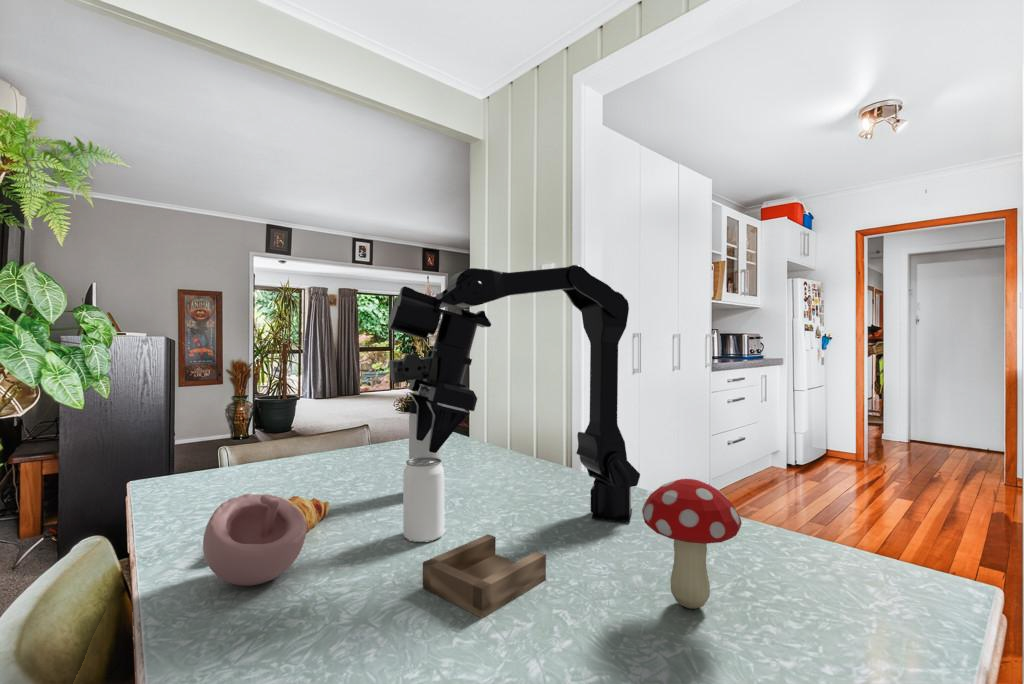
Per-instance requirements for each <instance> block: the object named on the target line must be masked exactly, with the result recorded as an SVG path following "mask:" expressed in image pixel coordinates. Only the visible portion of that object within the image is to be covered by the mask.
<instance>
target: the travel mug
mask: <svg viewBox="0 0 1024 684" xmlns="http://www.w3.org/2000/svg"><path fill="white" fill-rule="evenodd" d="M408 402H409V403H408V406H409V408H408V415H409V416H408V460H410V459H413V458H419V457H434V458H439V459H441V448H440V449H439V450H438V451H437V452H436V453H432V452H430V451H429V443H430V434H431V429H430V431H429V432H428V434H427V435H426V437H425V438H424V440H423V441H419V440H417V439H416V421H417V405H416V403H415V401H414V399H413V398H412V400H409V401H408Z"/></svg>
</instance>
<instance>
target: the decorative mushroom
mask: <svg viewBox="0 0 1024 684" xmlns="http://www.w3.org/2000/svg"><path fill="white" fill-rule="evenodd" d="M641 512H642V518H643V520H644V521H643V522H644V524H645V525H646V526H648V527H649V528H650V529H651V530H653V532H655V533H656V534H658V535H660V536H663V537H665V538H668V539H671V540H673V553H674V555H673V565H672V570H671V575H670V591H671V594H672V596H673V597H674V599H675V601H676V602H677V603H678V605H681V606H682V607H685V608H686V609H689V610H694V609H699V608H702V607H704V606H705V604H706V603H707V601H708V600H709V598H710V597H711V596H710V595H711V593H710V592H711V591H710V590H711V585H710V580H709V575H708V574H709V573H708V568H707V552H708V547H707V546H708V544H717V543H719V544H720V543H723V542H725V541H729V540H731V539H733V538H734V537H736V536H737V534H738V533H739V531H740V529H741V526H742V524H743V522H742V520H741V516H740V514H739V513H738V510H736V508H735V507H734V505H733V503H732V502H731V501H730V499H729V498H728V497H727V496H726V495H725V494H724V493H723V492H722V491H720V490H719V489H717V488H715V487H714V486H712V485H710V484H708V483H706V482H705V481H701V480H698V479H694V478H681V479H676V480H673V481H669V482H666V483H664V484H662V485H660V486H659V487H658V488H656V489H655V490H654V491H653V492H652V493H650V495H649V496H648V498H647V499H646V500H645V501H644V503H643V506H642V509H641Z"/></svg>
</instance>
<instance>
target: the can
mask: <svg viewBox="0 0 1024 684" xmlns="http://www.w3.org/2000/svg"><path fill="white" fill-rule="evenodd" d="M402 474H403V476H402V477H403V478H402V481H403V485H402V486H403V489H402V492H403V495H402V496H403V498H402V501H403V502H402V503H403V504H402V505H403V506H402V507H403V508H402V509H403V513H402V514H403V516H402V517H403V537H404V538H405V539H406V538H407V539H408V540H407V539H406V540H407V541H409V540H411V541H416V542H426V541H431V542H433V541H432V540H435V539H437V540H439V539H441V538H442V537H443V535H444V533H445V469H444V467H443V465H442V459H441V458H440V459H439V458H434V457H419V458H413V459H410V460H409V459H408V460H406V465H405V468H404V469H403V473H402ZM438 538H439V539H438ZM411 541H410V542H411ZM435 541H436V540H435ZM416 542H415V543H416ZM426 543H427V542H426Z"/></svg>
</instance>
